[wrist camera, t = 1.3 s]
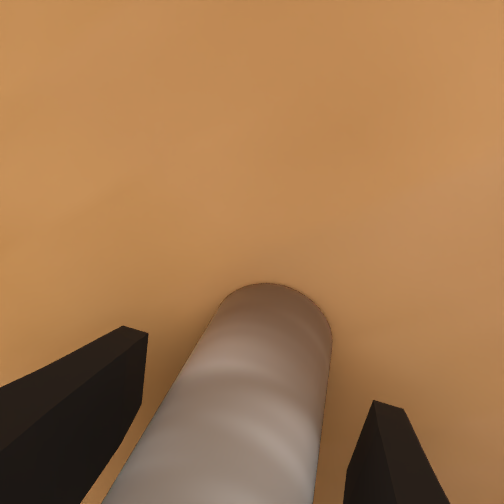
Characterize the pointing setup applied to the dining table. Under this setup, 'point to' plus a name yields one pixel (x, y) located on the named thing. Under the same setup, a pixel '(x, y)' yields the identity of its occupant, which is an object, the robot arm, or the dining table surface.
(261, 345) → the sliding frame
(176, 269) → the dining table surface
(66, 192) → the dining table surface
